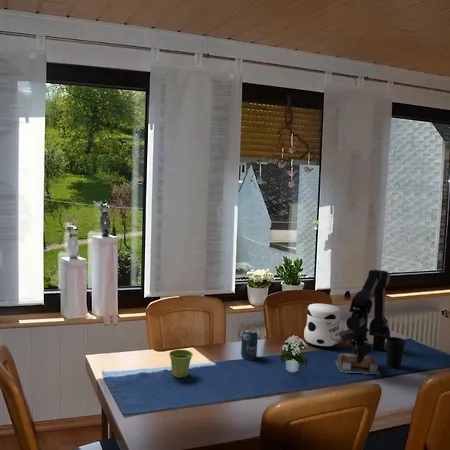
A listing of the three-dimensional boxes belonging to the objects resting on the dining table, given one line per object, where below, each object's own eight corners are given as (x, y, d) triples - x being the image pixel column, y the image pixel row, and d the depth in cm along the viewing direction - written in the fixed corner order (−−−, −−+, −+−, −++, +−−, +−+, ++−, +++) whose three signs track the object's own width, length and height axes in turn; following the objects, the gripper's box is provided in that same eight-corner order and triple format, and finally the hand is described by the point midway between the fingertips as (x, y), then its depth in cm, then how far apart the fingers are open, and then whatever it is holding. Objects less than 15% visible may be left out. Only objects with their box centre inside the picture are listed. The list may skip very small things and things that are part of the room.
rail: (340, 364, 217) (341, 355, 217) (340, 361, 220) (340, 352, 220) (374, 368, 215) (375, 359, 214) (373, 365, 218) (374, 356, 218)
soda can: (248, 361, 220) (249, 334, 219) (237, 356, 225) (238, 330, 224) (259, 358, 224) (261, 331, 223) (248, 353, 230) (250, 327, 228)
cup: (403, 370, 218) (406, 343, 216) (385, 368, 219) (387, 341, 218) (401, 364, 225) (403, 337, 224) (383, 362, 227) (385, 336, 225)
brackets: (335, 362, 224) (336, 353, 223) (371, 364, 223) (372, 355, 223) (341, 373, 212) (342, 363, 211) (379, 375, 212) (380, 365, 211)
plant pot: (195, 372, 205) (196, 351, 204) (186, 381, 196) (187, 359, 195) (174, 368, 208) (175, 348, 207) (164, 377, 199) (164, 355, 198)
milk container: (343, 351, 239) (346, 313, 237) (306, 349, 239) (308, 311, 237) (335, 338, 256) (338, 303, 254) (301, 337, 256) (303, 302, 254)
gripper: (336, 317, 225) (334, 351, 226) (346, 331, 206) (343, 368, 208) (362, 318, 225) (359, 353, 226) (373, 332, 206) (370, 369, 208)
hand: (357, 360), depth 217 cm, fingers open, 5 cm apart
